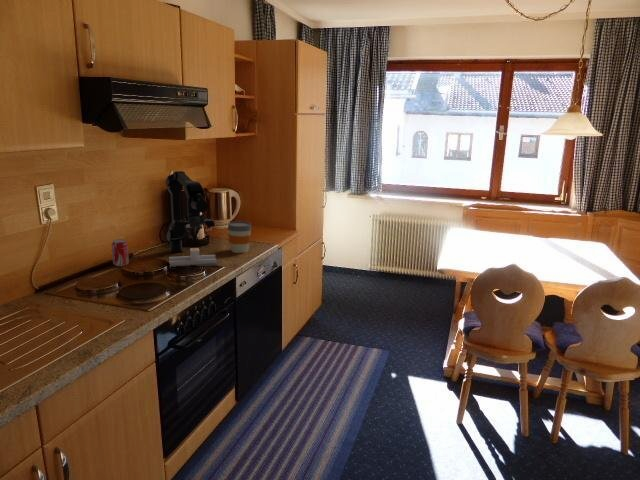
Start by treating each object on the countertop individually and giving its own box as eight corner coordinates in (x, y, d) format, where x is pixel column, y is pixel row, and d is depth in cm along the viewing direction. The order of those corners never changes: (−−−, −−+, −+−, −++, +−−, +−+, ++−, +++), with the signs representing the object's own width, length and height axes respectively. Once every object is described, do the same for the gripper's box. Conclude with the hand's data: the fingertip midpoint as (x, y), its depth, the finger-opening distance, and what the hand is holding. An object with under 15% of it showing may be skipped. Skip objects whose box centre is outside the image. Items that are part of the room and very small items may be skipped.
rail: (169, 262, 232) (169, 256, 231) (214, 259, 239) (214, 254, 238) (169, 268, 222) (169, 262, 222) (217, 265, 229) (216, 259, 229)
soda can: (110, 264, 225) (108, 240, 222) (125, 261, 230) (123, 238, 227) (116, 268, 220) (114, 243, 217) (131, 265, 225) (130, 241, 222)
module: (190, 260, 232) (190, 248, 231) (198, 259, 233) (198, 247, 232) (191, 263, 228) (190, 250, 226) (199, 262, 229) (199, 250, 227)
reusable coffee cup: (235, 255, 248) (235, 227, 245) (223, 249, 258) (223, 222, 254) (255, 251, 256) (255, 224, 253) (243, 246, 266) (243, 220, 262)
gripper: (173, 212, 214) (174, 245, 217) (215, 211, 220) (216, 244, 223) (173, 208, 224) (174, 239, 228) (213, 207, 230) (213, 238, 234)
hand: (194, 240), depth 228 cm, fingers closed
